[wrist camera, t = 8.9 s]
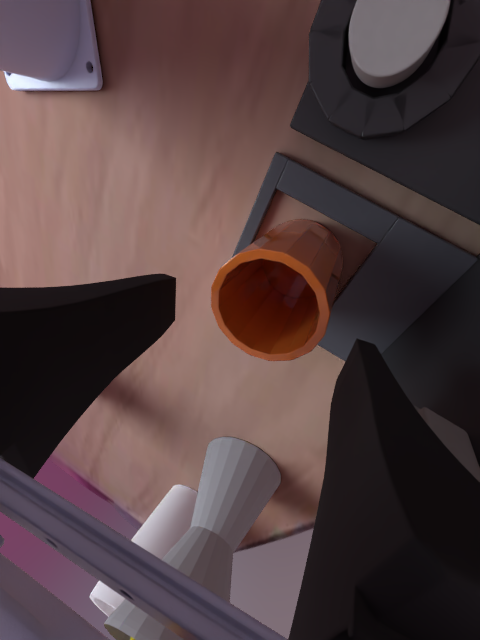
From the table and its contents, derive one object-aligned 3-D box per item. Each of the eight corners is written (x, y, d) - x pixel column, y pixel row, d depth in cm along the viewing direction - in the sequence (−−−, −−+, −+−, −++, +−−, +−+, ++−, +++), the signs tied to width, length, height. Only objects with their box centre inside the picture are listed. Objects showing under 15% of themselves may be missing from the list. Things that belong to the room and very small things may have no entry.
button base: (293, 128, 14) (274, 120, 11) (384, -87, 10) (390, -183, 7) (499, 234, 13) (534, 253, 10) (695, 40, 9) (843, -15, 6)
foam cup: (222, 530, 40) (170, 662, 29) (169, 505, 43) (104, 616, 33) (217, 492, 35) (152, 632, 25) (157, 468, 38) (78, 582, 28)
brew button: (336, 70, 10) (331, 56, 9) (383, -32, 9) (386, -68, 7) (400, 101, 10) (405, 91, 9) (459, 1, 9) (477, -30, 7)
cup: (263, 213, 17) (211, 240, 11) (353, 225, 15) (343, 263, 10) (256, 291, 20) (210, 344, 14) (331, 308, 18) (314, 374, 12)
